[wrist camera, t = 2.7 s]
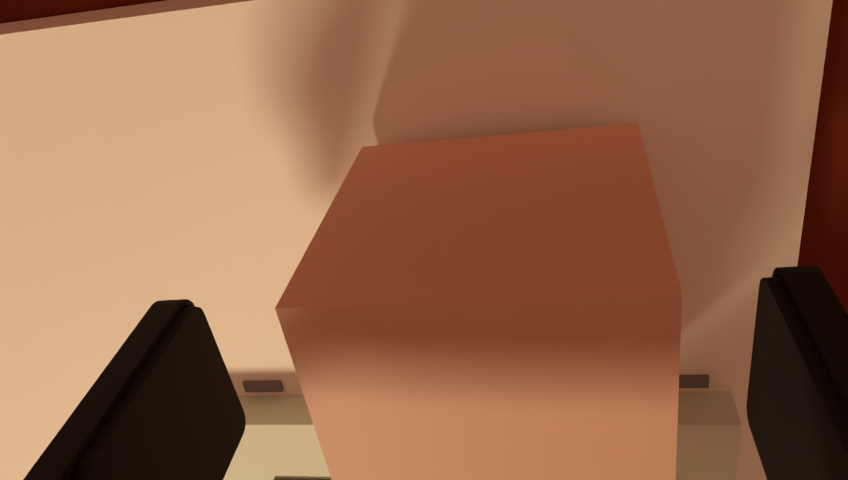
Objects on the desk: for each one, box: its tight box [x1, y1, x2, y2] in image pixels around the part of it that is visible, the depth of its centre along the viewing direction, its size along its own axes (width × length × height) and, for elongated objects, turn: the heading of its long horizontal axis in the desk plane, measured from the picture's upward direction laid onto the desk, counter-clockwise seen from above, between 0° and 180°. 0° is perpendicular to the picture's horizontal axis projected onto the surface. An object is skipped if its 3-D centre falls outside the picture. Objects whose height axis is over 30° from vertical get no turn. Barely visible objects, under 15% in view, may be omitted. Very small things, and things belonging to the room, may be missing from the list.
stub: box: [275, 123, 682, 480], centre depth 12 cm, size 5×6×5 cm
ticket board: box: [0, 0, 833, 480], centre depth 17 cm, size 22×16×2 cm
